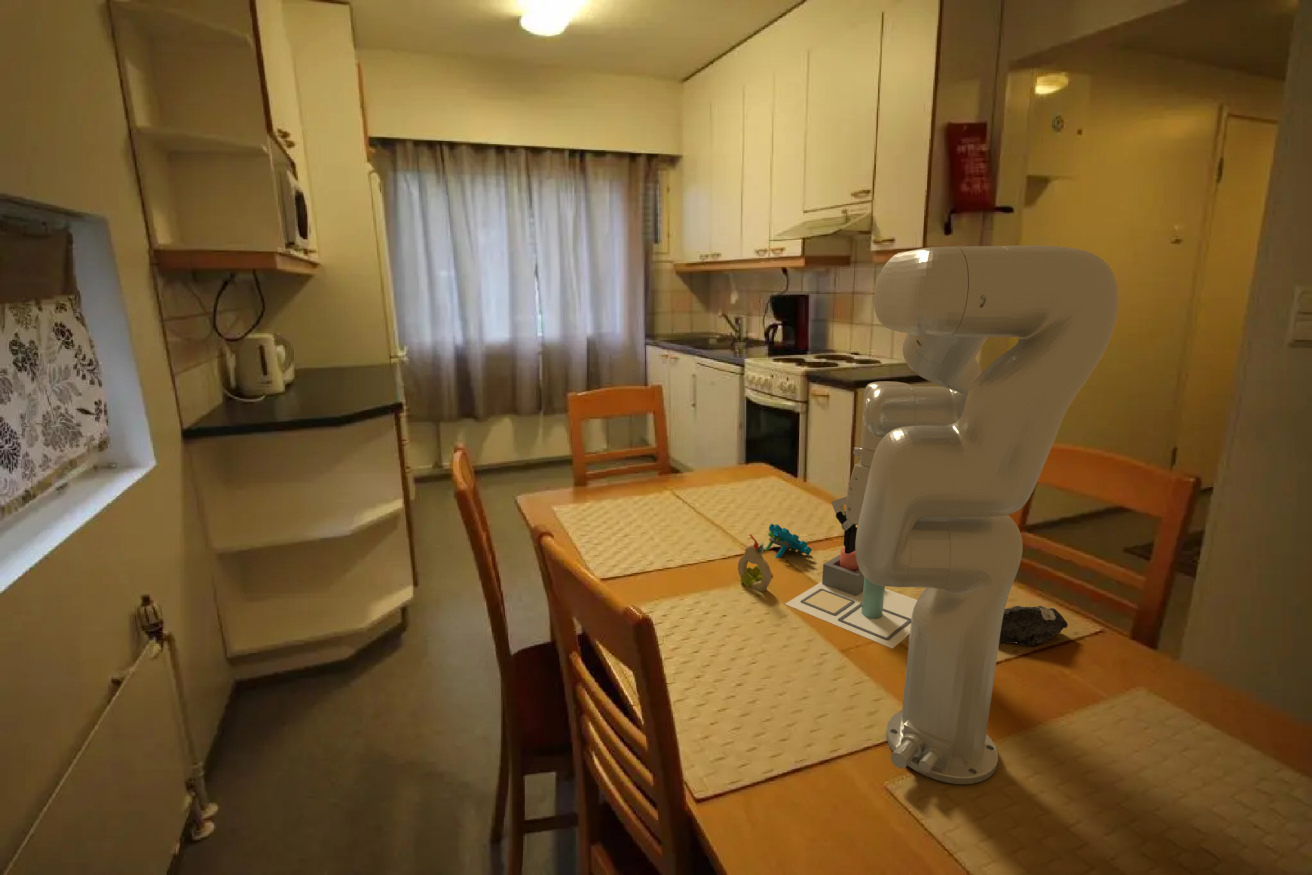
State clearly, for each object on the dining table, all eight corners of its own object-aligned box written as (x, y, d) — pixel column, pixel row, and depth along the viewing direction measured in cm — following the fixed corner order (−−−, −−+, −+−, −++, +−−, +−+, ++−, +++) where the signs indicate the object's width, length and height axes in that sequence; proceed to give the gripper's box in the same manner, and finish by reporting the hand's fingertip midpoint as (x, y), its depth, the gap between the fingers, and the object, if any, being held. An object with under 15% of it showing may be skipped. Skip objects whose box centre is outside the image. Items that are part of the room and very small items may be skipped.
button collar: (856, 596, 117) (857, 575, 116) (822, 583, 122) (823, 564, 121) (874, 583, 122) (876, 564, 121) (841, 572, 127) (842, 553, 126)
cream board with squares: (892, 651, 101) (892, 647, 101) (784, 606, 115) (784, 603, 115) (939, 610, 113) (940, 607, 113) (837, 574, 127) (837, 571, 127)
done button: (852, 582, 119) (854, 556, 118) (835, 575, 122) (837, 551, 121) (862, 575, 122) (864, 551, 121) (845, 569, 124) (846, 545, 123)
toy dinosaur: (822, 554, 133) (793, 526, 129) (807, 578, 131) (777, 550, 128) (788, 542, 143) (760, 516, 139) (773, 564, 141) (745, 538, 137)
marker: (876, 621, 109) (881, 561, 106) (857, 613, 111) (862, 554, 108) (886, 613, 111) (891, 554, 108) (867, 606, 114) (872, 548, 111)
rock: (1003, 622, 99) (1017, 570, 104) (966, 634, 106) (981, 585, 111) (1071, 668, 98) (1081, 613, 103) (1029, 677, 105) (1041, 625, 110)
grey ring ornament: (792, 589, 121) (795, 532, 119) (756, 599, 118) (758, 540, 115) (768, 574, 128) (770, 519, 125) (733, 582, 124) (735, 526, 121)
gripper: (824, 454, 108) (819, 551, 111) (928, 472, 96) (919, 581, 99) (847, 447, 113) (842, 540, 116) (948, 464, 101) (939, 567, 104)
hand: (877, 559), depth 108 cm, fingers open, 9 cm apart
